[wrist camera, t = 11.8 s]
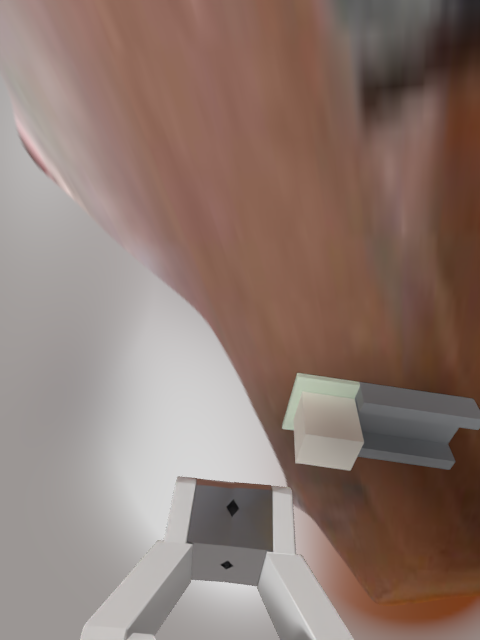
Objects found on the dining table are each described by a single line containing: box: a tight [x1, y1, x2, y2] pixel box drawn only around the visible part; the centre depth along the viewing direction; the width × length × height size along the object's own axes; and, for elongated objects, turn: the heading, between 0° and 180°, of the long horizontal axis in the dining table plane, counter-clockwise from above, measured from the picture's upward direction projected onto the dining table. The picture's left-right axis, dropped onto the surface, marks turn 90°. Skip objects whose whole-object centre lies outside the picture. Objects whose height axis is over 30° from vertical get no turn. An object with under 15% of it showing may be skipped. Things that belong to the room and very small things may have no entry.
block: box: [293, 391, 364, 471], centre depth 45 cm, size 6×5×6 cm
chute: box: [282, 373, 480, 470], centre depth 46 cm, size 20×9×3 cm, turn 82°
